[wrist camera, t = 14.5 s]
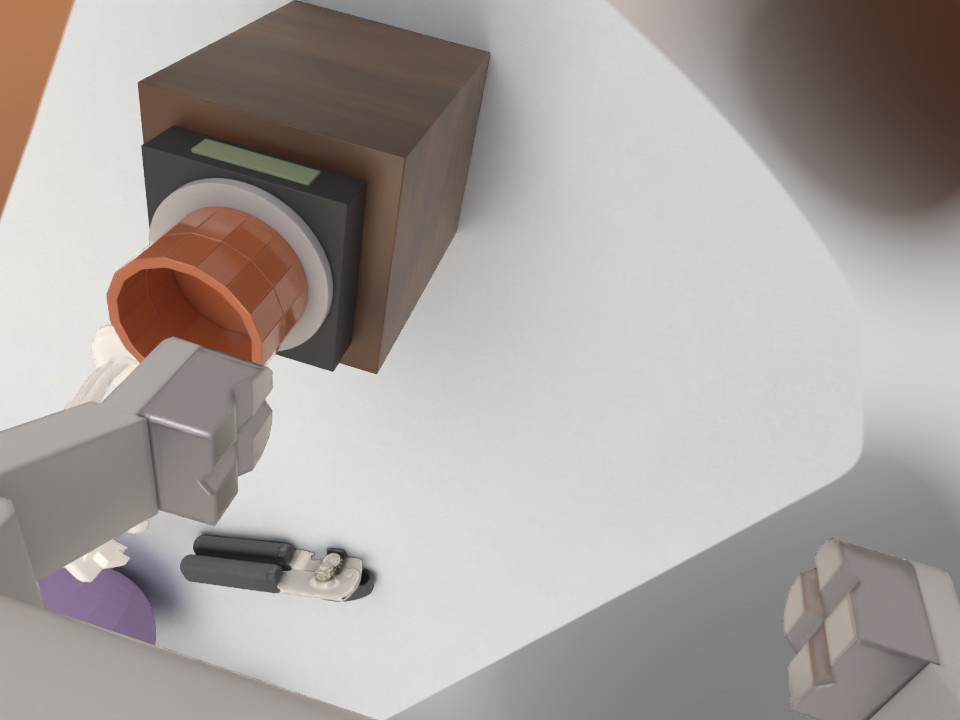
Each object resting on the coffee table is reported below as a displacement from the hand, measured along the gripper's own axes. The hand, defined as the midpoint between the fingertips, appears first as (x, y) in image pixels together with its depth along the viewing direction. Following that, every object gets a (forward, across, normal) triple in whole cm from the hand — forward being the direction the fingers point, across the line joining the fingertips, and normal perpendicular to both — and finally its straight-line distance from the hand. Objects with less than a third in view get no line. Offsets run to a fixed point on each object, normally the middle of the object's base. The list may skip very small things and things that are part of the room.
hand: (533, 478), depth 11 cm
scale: (+21, +14, +12) cm, 28 cm away
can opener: (+37, +19, +60) cm, 73 cm away
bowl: (+18, +14, +12) cm, 26 cm away
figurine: (+37, +34, +39) cm, 64 cm away
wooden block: (+37, +14, +12) cm, 41 cm away
